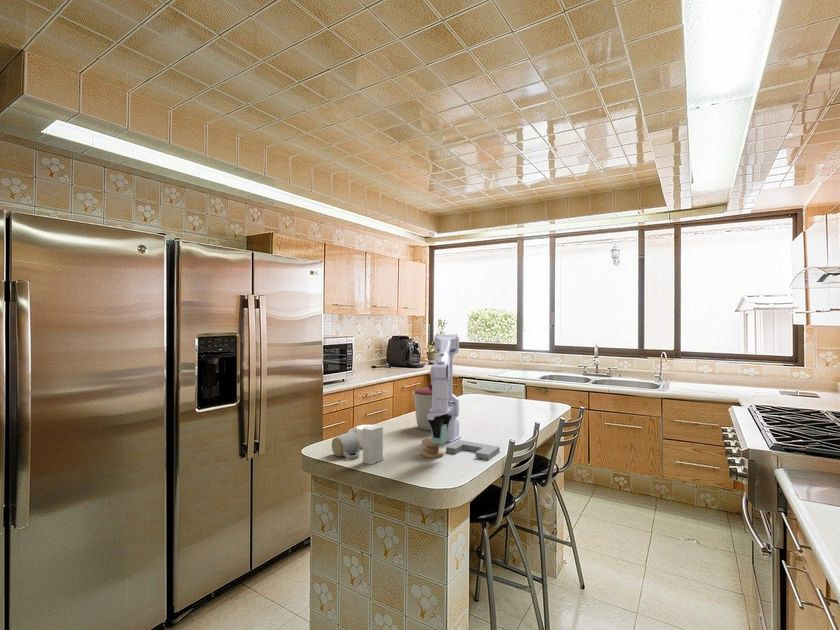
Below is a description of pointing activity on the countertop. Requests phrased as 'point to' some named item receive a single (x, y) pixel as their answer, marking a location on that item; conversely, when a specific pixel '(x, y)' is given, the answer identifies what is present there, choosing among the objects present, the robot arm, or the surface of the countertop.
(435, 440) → the tab block
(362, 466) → the countertop surface
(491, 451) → the gray u-shaped block
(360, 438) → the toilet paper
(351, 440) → the ceramic mug
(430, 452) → the bobbin
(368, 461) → the skincare box
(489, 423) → the countertop surface
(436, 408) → the robot arm
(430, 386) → the canister
